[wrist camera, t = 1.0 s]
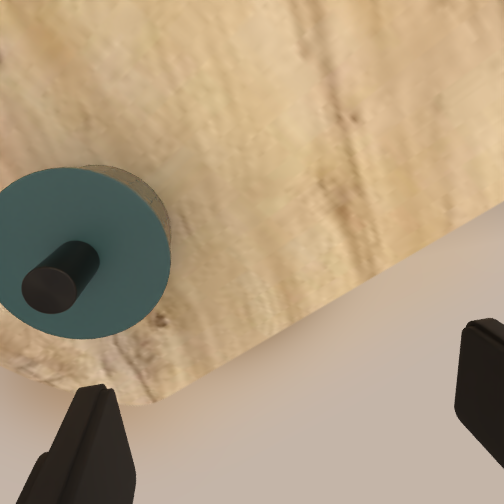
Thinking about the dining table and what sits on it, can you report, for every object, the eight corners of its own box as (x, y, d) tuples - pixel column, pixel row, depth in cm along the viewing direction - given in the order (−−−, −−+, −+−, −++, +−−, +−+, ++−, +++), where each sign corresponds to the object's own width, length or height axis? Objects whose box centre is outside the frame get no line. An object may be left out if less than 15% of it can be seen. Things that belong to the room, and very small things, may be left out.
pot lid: (-46, 279, 27) (-121, 324, 20) (40, 126, 24) (-14, 125, 18) (116, 357, 30) (95, 416, 24) (204, 231, 28) (206, 260, 22)
